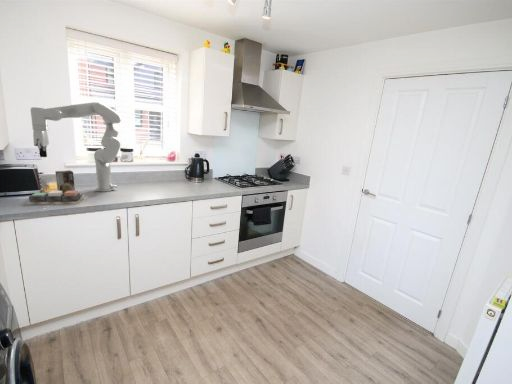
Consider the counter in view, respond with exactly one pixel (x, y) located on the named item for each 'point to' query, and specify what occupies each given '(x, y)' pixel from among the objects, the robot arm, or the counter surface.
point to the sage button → (39, 194)
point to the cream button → (55, 193)
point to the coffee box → (65, 181)
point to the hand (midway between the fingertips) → (43, 156)
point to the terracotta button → (71, 193)
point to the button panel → (55, 199)
